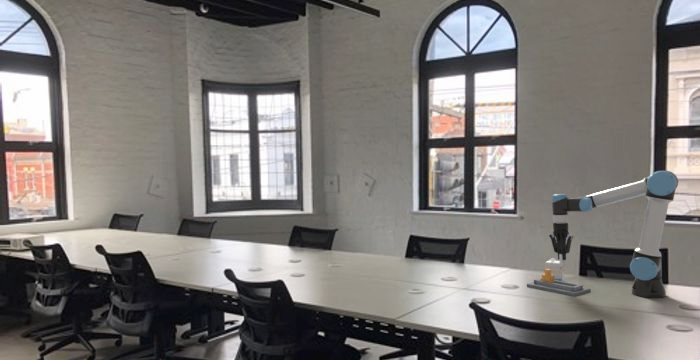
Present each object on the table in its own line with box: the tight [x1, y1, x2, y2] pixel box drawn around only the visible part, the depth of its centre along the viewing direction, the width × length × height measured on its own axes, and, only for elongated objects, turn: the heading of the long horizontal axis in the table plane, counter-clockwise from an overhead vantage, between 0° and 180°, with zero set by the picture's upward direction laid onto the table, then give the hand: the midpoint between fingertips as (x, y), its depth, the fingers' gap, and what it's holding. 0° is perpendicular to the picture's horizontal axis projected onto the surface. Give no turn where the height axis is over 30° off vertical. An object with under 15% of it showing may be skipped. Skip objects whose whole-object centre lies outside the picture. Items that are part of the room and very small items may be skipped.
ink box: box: [544, 257, 565, 282], centre depth 288 cm, size 9×8×13 cm
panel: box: [526, 277, 592, 297], centre depth 270 cm, size 28×16×4 cm, turn 36°
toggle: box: [541, 269, 554, 283], centre depth 275 cm, size 5×4×8 cm
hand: (562, 265), depth 268 cm, fingers closed
